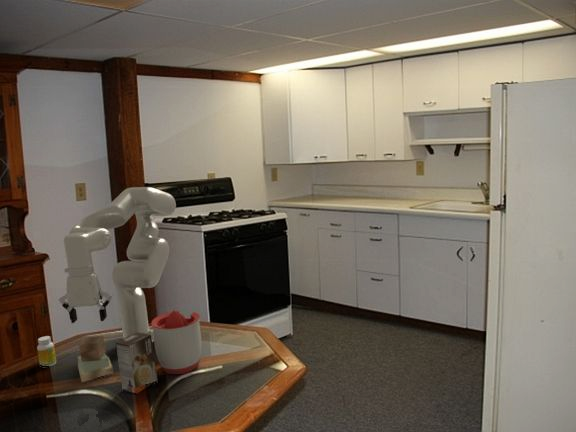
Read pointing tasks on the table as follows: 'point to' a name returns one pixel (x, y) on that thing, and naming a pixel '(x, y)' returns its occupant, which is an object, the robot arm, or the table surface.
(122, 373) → the coffee box
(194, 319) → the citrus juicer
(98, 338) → the walnut cube
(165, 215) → the robot arm
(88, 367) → the sage top block
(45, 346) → the supplement bottle
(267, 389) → the table surface
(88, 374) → the birch base block
